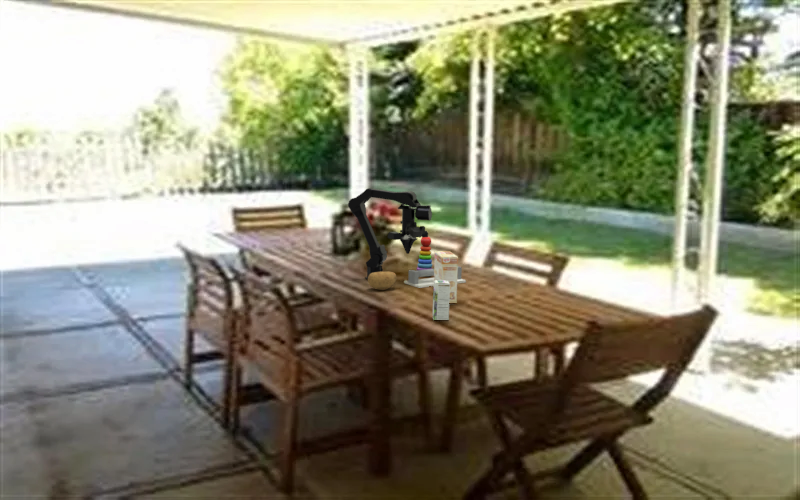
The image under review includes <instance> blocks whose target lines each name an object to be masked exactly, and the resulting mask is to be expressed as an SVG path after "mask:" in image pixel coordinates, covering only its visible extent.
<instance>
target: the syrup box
mask: <svg viewBox="0 0 800 500" xmlns="http://www.w3.org/2000/svg"><path fill="white" fill-rule="evenodd" d="M449 301H450V283H449V281H446V280H435V281H434V286H433V295H432V316H433V317H432V320H433V321H434V320H450V304H449Z"/></svg>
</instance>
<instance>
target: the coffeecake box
mask: <svg viewBox="0 0 800 500" xmlns="http://www.w3.org/2000/svg"><path fill="white" fill-rule="evenodd" d="M433 263H434V265H433V267H434V268H433V269H434V275H433V278H434V281H435V280H446V281H449V283H450V301H449V303H458V297H457V296H458V283H457V276H458V266H459V257H458V255H456V254H454V253H453V252H451V251H449V250H448V251H447V250H446V251H445V250H443V251H438V250H437V251H434V262H433Z"/></svg>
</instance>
